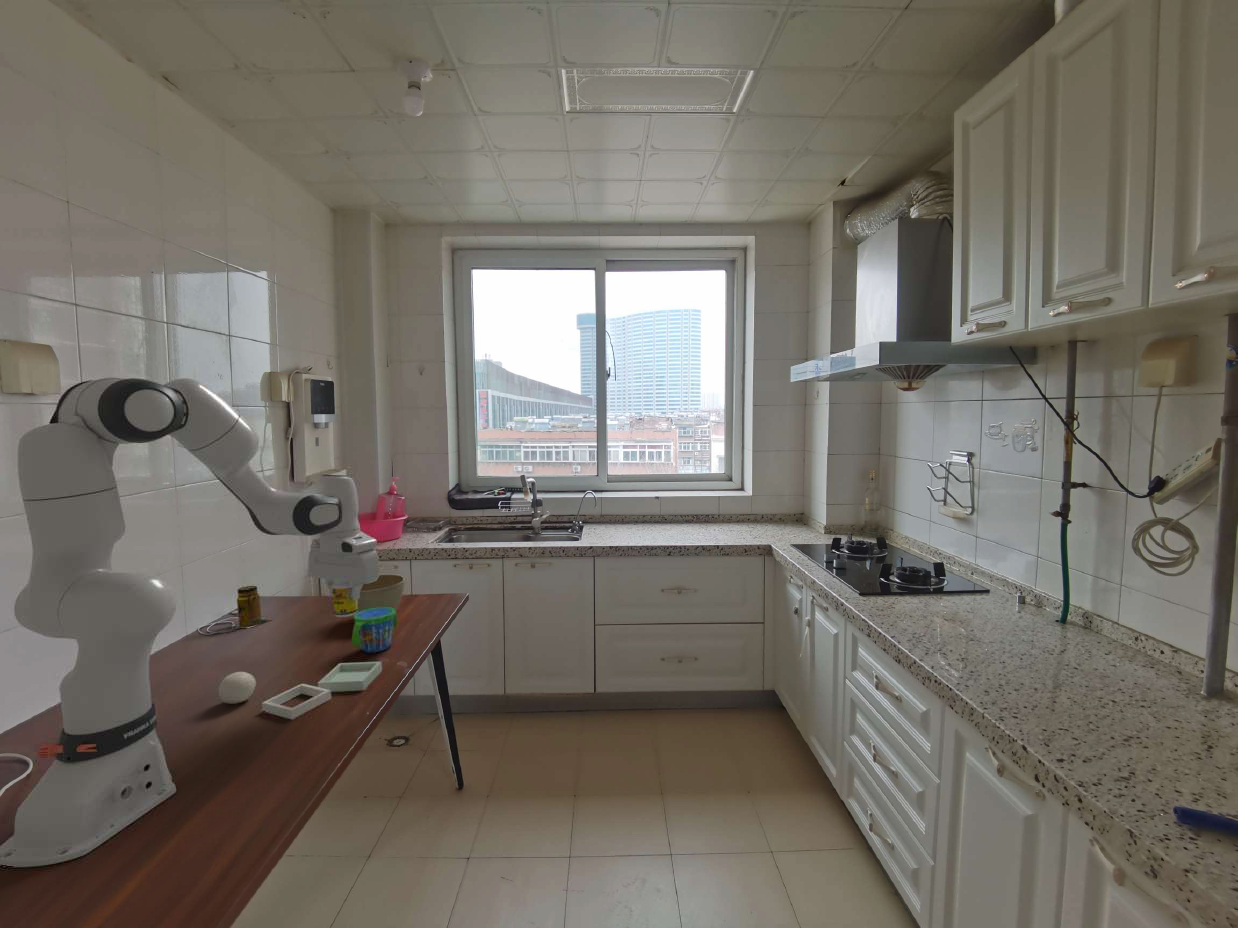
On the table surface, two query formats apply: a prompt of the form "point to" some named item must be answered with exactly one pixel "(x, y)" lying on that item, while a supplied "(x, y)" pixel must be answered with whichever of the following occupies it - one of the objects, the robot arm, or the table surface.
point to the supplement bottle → (343, 599)
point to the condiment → (249, 607)
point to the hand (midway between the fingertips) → (345, 597)
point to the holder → (318, 698)
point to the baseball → (236, 687)
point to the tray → (351, 676)
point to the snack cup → (374, 628)
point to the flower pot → (381, 593)
